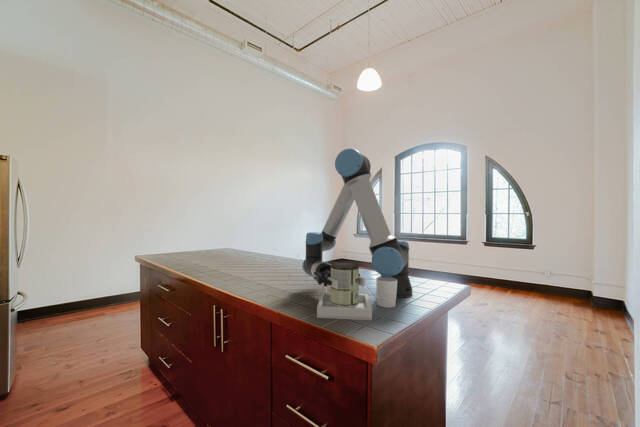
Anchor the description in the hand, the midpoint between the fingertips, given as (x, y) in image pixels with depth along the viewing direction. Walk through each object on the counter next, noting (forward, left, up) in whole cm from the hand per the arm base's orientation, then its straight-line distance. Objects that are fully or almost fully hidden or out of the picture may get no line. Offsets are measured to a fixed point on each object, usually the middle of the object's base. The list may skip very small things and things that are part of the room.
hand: (350, 283), depth 100 cm
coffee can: (+2, -4, -8) cm, 9 cm away
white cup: (-14, -12, -11) cm, 21 cm away
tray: (+2, -4, -10) cm, 11 cm away
